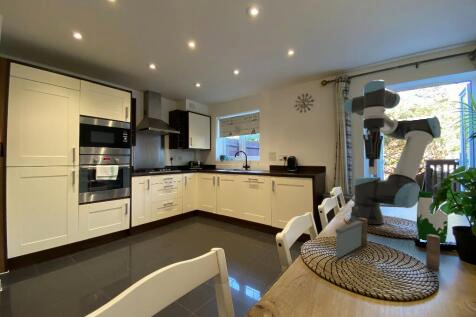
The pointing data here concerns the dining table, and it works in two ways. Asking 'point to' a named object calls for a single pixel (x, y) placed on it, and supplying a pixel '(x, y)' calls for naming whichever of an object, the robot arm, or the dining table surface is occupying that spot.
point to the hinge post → (363, 231)
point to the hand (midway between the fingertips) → (372, 174)
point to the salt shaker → (354, 214)
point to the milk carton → (430, 218)
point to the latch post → (433, 252)
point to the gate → (348, 238)
